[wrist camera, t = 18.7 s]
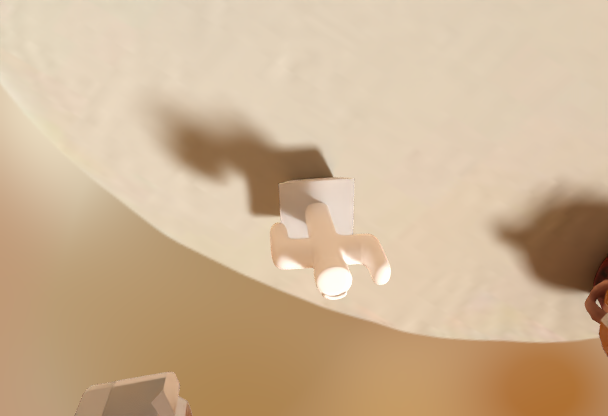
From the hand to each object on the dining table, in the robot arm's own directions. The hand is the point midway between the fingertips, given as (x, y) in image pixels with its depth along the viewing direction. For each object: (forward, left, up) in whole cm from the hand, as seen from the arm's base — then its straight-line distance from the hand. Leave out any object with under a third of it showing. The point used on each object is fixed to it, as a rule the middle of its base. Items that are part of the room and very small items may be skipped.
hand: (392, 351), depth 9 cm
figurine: (0, +16, -37) cm, 41 cm away
